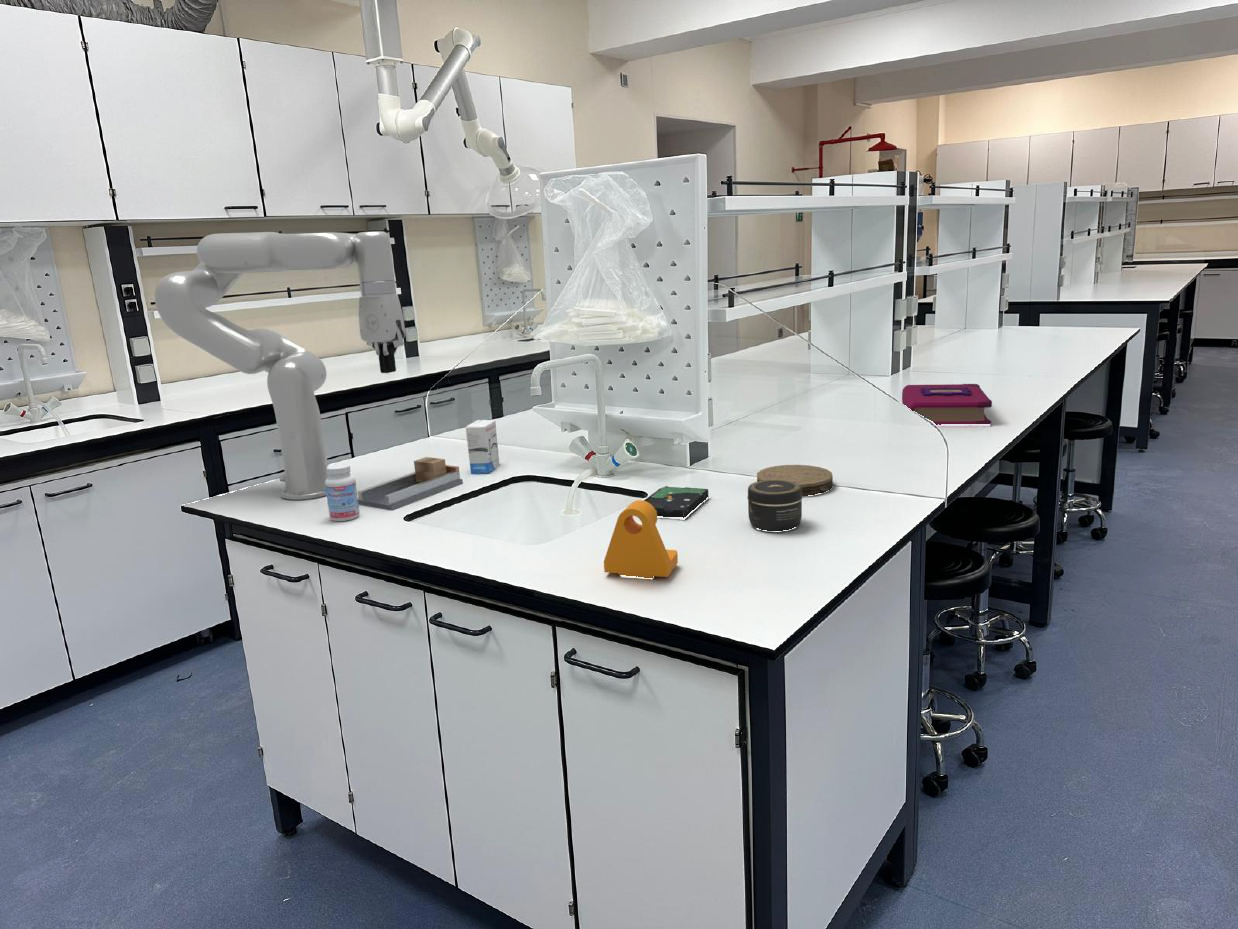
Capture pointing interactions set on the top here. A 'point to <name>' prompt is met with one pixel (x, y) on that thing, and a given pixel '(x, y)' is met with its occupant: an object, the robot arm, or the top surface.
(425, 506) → the top surface
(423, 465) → the block
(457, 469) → the chute
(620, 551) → the bracket
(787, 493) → the jar
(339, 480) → the pill bottle
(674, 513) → the disk drive
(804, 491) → the cork trivet
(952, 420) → the book
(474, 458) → the ink box
